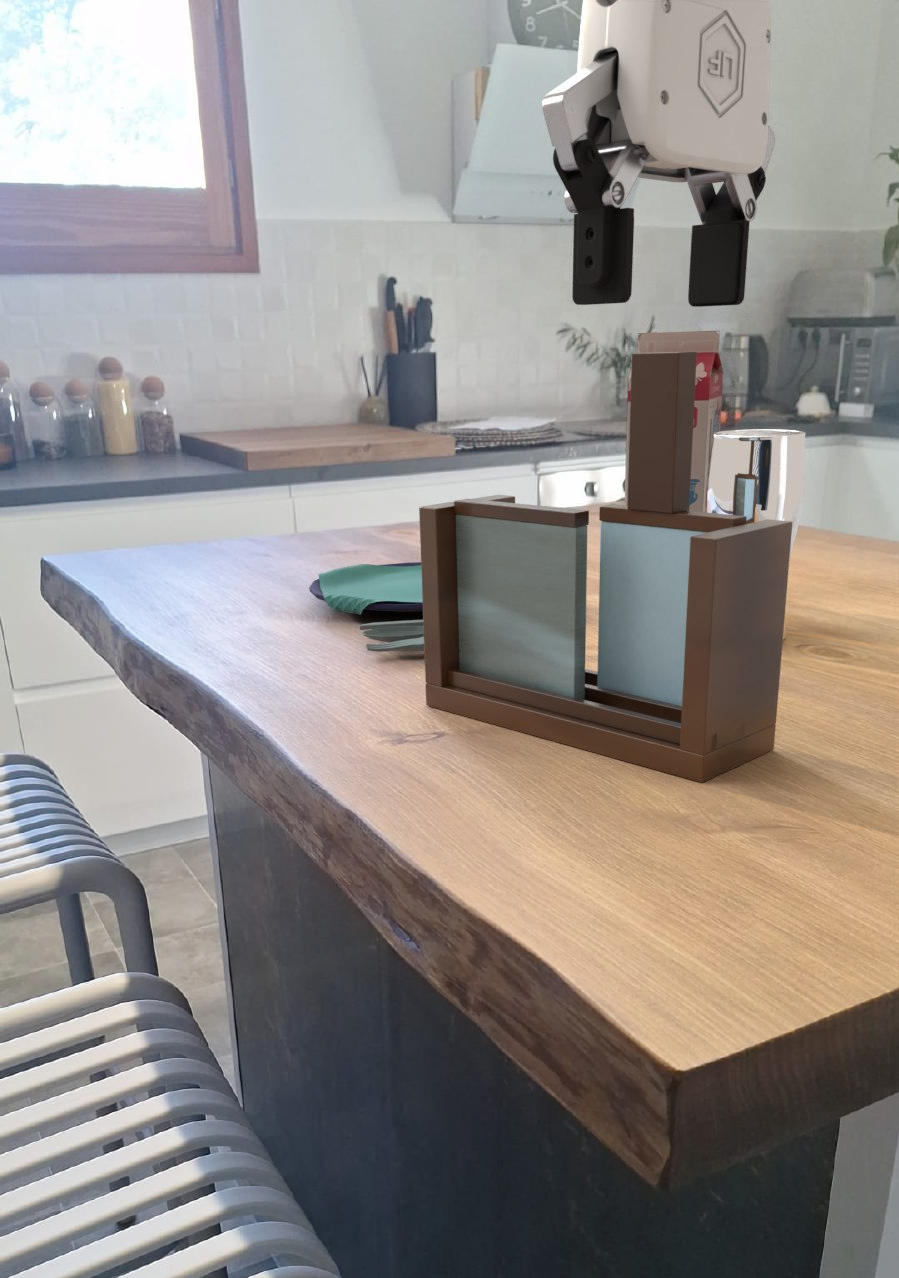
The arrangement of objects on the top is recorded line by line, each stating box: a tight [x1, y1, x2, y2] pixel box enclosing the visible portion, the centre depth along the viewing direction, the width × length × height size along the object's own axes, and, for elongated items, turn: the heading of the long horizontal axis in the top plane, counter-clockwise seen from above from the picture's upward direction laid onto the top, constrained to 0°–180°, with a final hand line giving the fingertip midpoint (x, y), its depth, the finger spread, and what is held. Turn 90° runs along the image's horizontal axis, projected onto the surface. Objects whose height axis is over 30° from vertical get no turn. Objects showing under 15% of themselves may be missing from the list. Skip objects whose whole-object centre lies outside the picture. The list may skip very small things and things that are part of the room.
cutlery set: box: [308, 561, 424, 652], centre depth 98 cm, size 20×30×2 cm, turn 8°
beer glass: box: [706, 428, 807, 640], centre depth 85 cm, size 7×7×15 cm
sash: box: [597, 352, 747, 706], centre depth 62 cm, size 2×9×19 cm, turn 44°
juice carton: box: [624, 330, 724, 513], centre depth 97 cm, size 7×7×22 cm
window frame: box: [418, 494, 792, 783], centre depth 66 cm, size 7×21×13 cm, turn 44°
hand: (661, 304), depth 58 cm, fingers open, 9 cm apart
